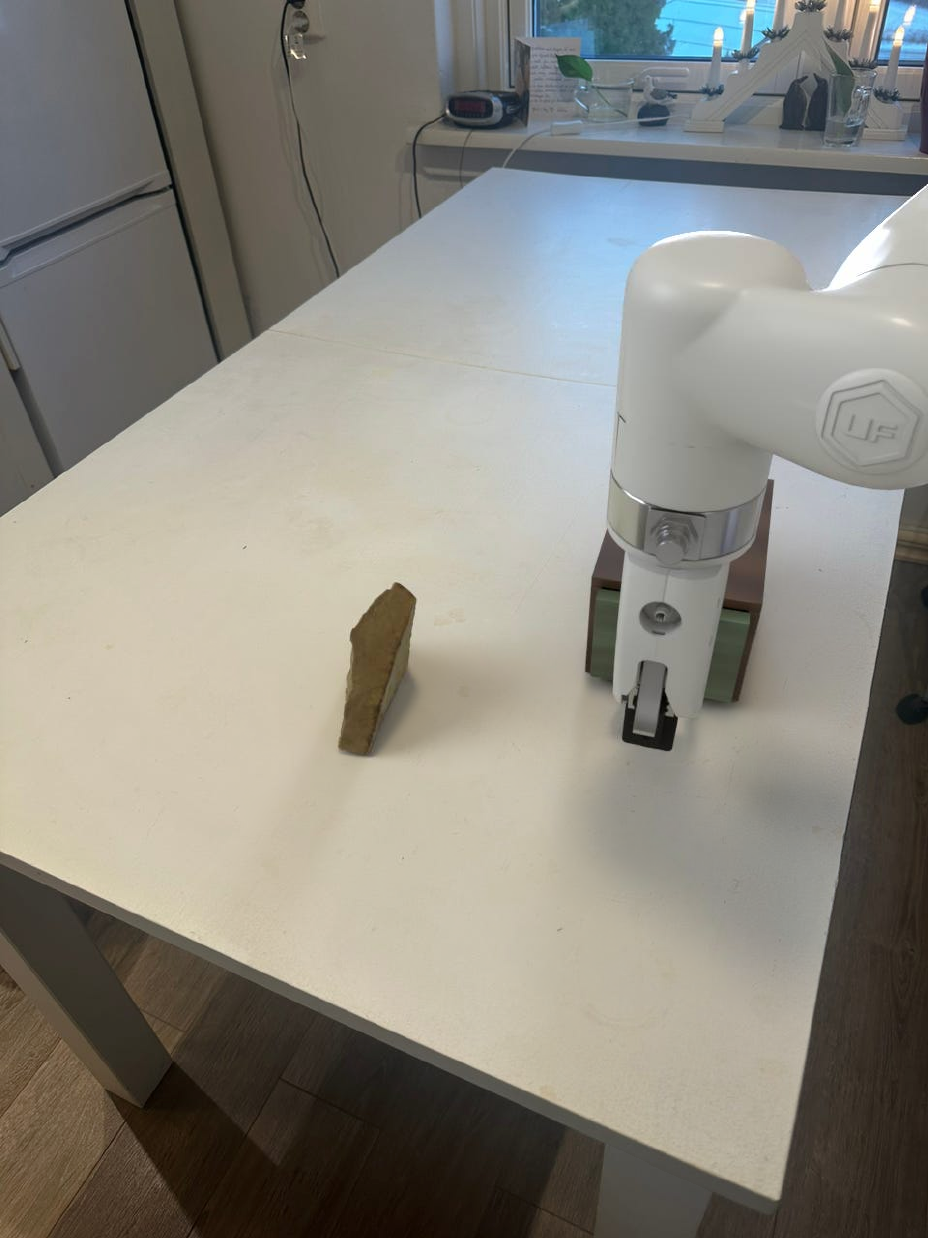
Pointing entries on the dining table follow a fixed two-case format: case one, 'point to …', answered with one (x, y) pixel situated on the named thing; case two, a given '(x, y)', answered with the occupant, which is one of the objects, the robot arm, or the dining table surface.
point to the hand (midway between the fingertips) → (648, 737)
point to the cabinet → (739, 592)
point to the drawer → (723, 657)
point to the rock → (376, 665)
